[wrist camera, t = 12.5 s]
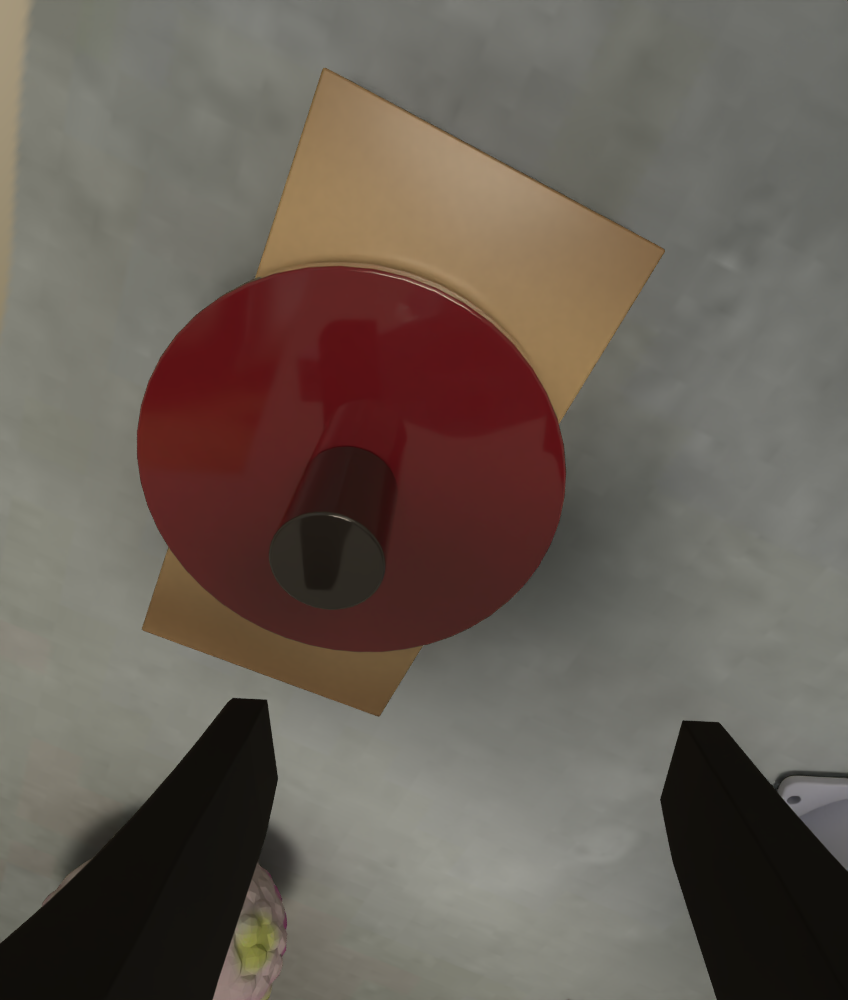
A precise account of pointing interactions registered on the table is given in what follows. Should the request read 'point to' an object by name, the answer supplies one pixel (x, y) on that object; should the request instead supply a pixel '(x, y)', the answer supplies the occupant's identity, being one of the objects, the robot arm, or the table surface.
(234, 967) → the decorative item
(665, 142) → the table surface
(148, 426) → the lid
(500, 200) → the wooden block
